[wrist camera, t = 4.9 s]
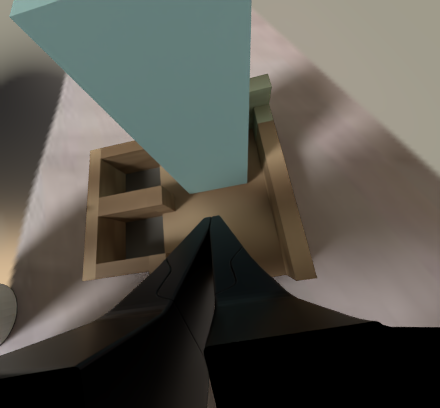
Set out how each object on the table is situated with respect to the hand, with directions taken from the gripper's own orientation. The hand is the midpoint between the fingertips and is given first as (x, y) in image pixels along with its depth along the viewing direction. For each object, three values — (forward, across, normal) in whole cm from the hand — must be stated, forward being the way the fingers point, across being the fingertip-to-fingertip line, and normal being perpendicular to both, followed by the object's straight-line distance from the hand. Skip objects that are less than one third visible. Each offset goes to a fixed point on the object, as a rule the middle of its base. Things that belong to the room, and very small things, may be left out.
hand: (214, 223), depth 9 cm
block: (+8, 0, -1) cm, 8 cm away
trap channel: (+7, +2, +2) cm, 7 cm away
